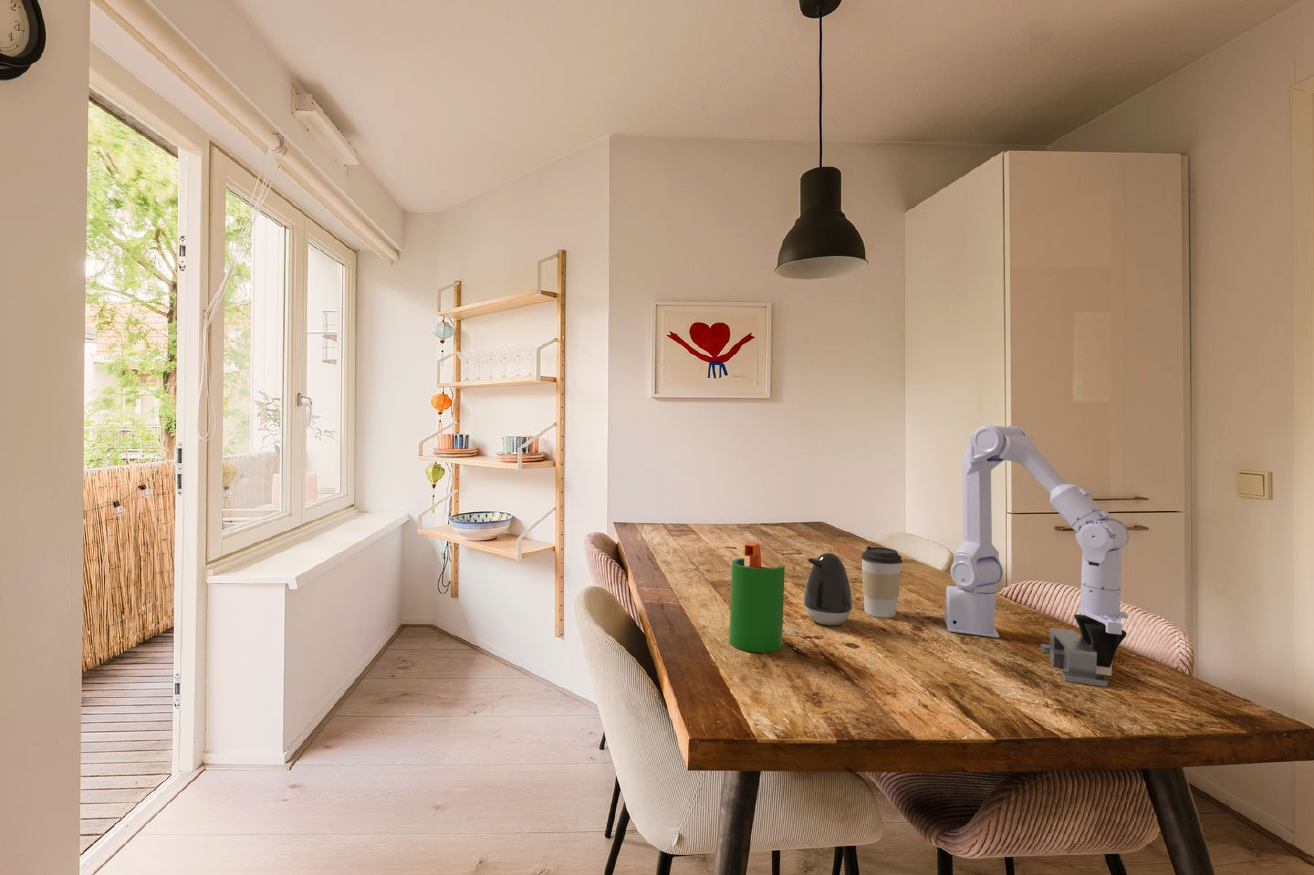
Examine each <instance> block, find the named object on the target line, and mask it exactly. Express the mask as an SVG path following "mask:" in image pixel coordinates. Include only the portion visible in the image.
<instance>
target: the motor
mask: <svg viewBox="0 0 1314 875" xmlns="http://www.w3.org/2000/svg"><path fill="white" fill-rule="evenodd" d="M744 556H745V557H749V565H747V566H745V558H743V557H741V558H736V559H734V560H732V561H731V582H730V584H731V585H730V587H731V588H730V612H729V613H730V614H729V615H730V616H729V644H730V645H731V646H732V647H734V648H736V649H739V650H742V651H745V652H752V653H760V654H761V653H762V654H763V653H764V654H765V653H772V652H773V653H774V652H777V651H779V650H781V649H782V648H783V630H784V629H783V627H784V625H783V624H784V599H785V598H784V595H785V593H784V592H785V567H786V566H785V565H778V566H777V567H772V568H771V567H767V566H762V556H761V547H760V544H759V543H755V542H747V543H745V544H744Z"/></svg>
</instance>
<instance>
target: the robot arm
mask: <svg viewBox="0 0 1314 875" xmlns="http://www.w3.org/2000/svg"><path fill="white" fill-rule="evenodd" d="M968 438H969V439H968V440H969V441H968V442H969V445H968V447H967V449H966V451H965V454H964V456H963V458H962V460H961V472H962V473H961V477H962V478H961V481H962V482H961V483H962V484H961V486H962V488H961V489H962V492H961V493H962V494H961V496H962V498H961V499H962V543H961V545H959V546H958V548H957V549H956V550H955V552H954V559H953V563H952V564H951V567H950V576H951V579H952V581H953V582H954V584H955V586H954V585H947V586H946V590H945V609H944V610H945V611H944V622H945V625H946V629H947V630H948V632H953V633H958V634H959V633H960V634H967V635H976V636H982V637H983V636H984V637H990V638H1000V635H999V633H998V631H997V629H996V628H995V627H996V626H995V624H996V622H995V619H996V618H995V617H996V595H997V594H996V591H997V585H998V584H999V583H1001V581H1002V580H1003V577H1004V568H1003V565H1002V563H1001V562H1000V554H999V551H998V549H997V548H996V546H994V545H993V534H992V533H993V532H992V531H993V530H992V526H993V525H992V521H993V520H992V470H993V469H995V468H996V467H997V466H999V465H1000V464H1001V463H1002V462H1003V461H1009V462H1014V463H1016V464H1020V465H1021V466H1022V468H1024V469H1025V470H1026V471H1027V472H1028V473H1029V474H1030V475H1031V476H1032V477H1033V478H1034V479H1035V480H1036V481H1037V482H1038V484H1040V485H1041V486H1042V487H1043V488H1044V489H1045V490H1046V491H1047V492H1048V493H1049V494H1050V497H1049V503H1050V505H1051V506H1052V507H1053V508H1054V509H1055V510H1056V511H1057V512H1058V514H1059V515H1060V516H1061V517H1062V518H1063V519H1064V521H1065V522H1066V523H1068V525H1069V526H1070V527H1071V528H1072V529H1073V530H1074V531H1075V532H1077V533H1075V539H1076V542H1077V544H1078V545H1079V546H1080V548H1081V551H1082V552H1081V572H1080V573H1081V578H1080V599H1079V605H1078V613H1080V614H1074V615H1073V617H1074V619H1075V621H1076V623H1077V625H1078V628H1079V630H1080V634H1081V635H1080V636H1081V637H1082V638H1083V639H1084V640H1085V641H1086V642H1087V643H1088V644H1089V645H1092V648H1093V649H1094V650H1095V651H1096V652H1097V664H1096V666H1101V667H1108V668H1110V666H1111V664H1112V665H1113V661H1114V658H1115V656H1116V655H1115V654H1116V651H1117V649H1118V648H1119V646H1120V644H1121V643H1122V641H1124V640H1125V638H1126V637H1127V634H1128V633H1127V631H1126V630H1124V629H1123V623H1122V621H1121V620H1122V619H1129V614H1128V613H1127V612H1124V611H1121V593H1122V590H1121V589H1122V572H1123V571H1122V567H1123V563H1122V561H1123V548H1124V547H1126V546H1127V545H1128V542H1129V540H1130V533H1129V531H1128V528H1127V527H1126V526H1125V524H1124V523H1123V521H1121V520H1120V519H1118V518H1113V517H1110V516H1111V515H1110V512H1108V511H1107V510H1103V509H1102V508H1101V507H1100V506H1099V505H1098V504H1097V503H1096V502H1095V501H1094V499H1092V498H1091V496H1090V495H1091V491H1089V490H1088V489H1087V488H1086V487H1085V488H1084V487H1083V488H1082V487H1081V486H1080V485H1077V484H1070V483H1068V482H1067V481H1066V480H1065V479H1064V478H1063V476H1062V475H1061V474H1060V473H1059V472H1058V471H1057V469H1056V468H1055V467H1054V465H1053V464H1052V463H1051V462H1050V461H1049V459H1048V458H1047V457H1046V456H1045V455H1044V454H1043V452H1041V450H1040V449H1039V448H1038V447H1037V445H1036V444H1035V441H1034V440H1033V438H1032V437H1030V436H1029V435H1027V433H1026V432H1025V430H1023V429H1022V428H1020V427H1019V426H1015V425H1009V426H998V425H992V424H985V425H983V426H980V427H979V428H977V429H976V430H975V431H974V432H972V434H970V435H969V437H968Z"/></svg>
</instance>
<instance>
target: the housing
mask: <svg viewBox="0 0 1314 875" xmlns="http://www.w3.org/2000/svg"><path fill="white" fill-rule="evenodd" d="M1050 649H1056V650H1064V661H1063V668H1062V670H1061V678H1062V679H1063V681H1064V682H1070V683H1076V684H1082V685H1084V684H1085V685H1090V686H1095V687H1103V688H1108V680H1107V679H1106V678H1105V677H1104V676H1103V675H1101V676H1099V675H1097V674H1096V664H1097V652H1096V651H1095V650H1094V649H1093V648H1092V647H1091V646H1090V645H1089V644H1088V643H1087V642H1086V641H1085V640H1084V639H1083V638H1082V635H1080V634H1079V633H1078V632H1077V631H1076V630H1074V629H1067V628H1066V629H1065V628H1057V627H1049V644H1044V643H1040V650H1041V652H1042V651H1043V652H1042V653H1044V654H1049V655H1050Z"/></svg>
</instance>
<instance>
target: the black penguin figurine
mask: <svg viewBox="0 0 1314 875" xmlns="http://www.w3.org/2000/svg"><path fill="white" fill-rule="evenodd" d="M807 562H808V563H810V564H812V567H811V569H810V572H809V573H808V574H809V575H808V577H807V581H806V584H805V590H804V596H803V605H804V606H805V610H806V613H807V615H808V616H809V618H810V619H811V620H813V621H814V622H815V623H817V624H819V625H823V626H829V627H830V626H831V627H833V626H838V625H841V624H843V623H844V622H846V621H847V620H848V618H849V616H850V614H851V611H852V610H853V599H852V598H853V597H852V596H853V595H852V588H851V584H850V580H849V577H848V576H849V575H848V573H847V570H846V568H845V565H844V563H843V561H842V560H841V558H840V557H839V556H838V555H837V554H835V553H832V552H825V553H822V554H820V555H818V557H817V558H816V559H815V558H813V557H808V558H807Z"/></svg>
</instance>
